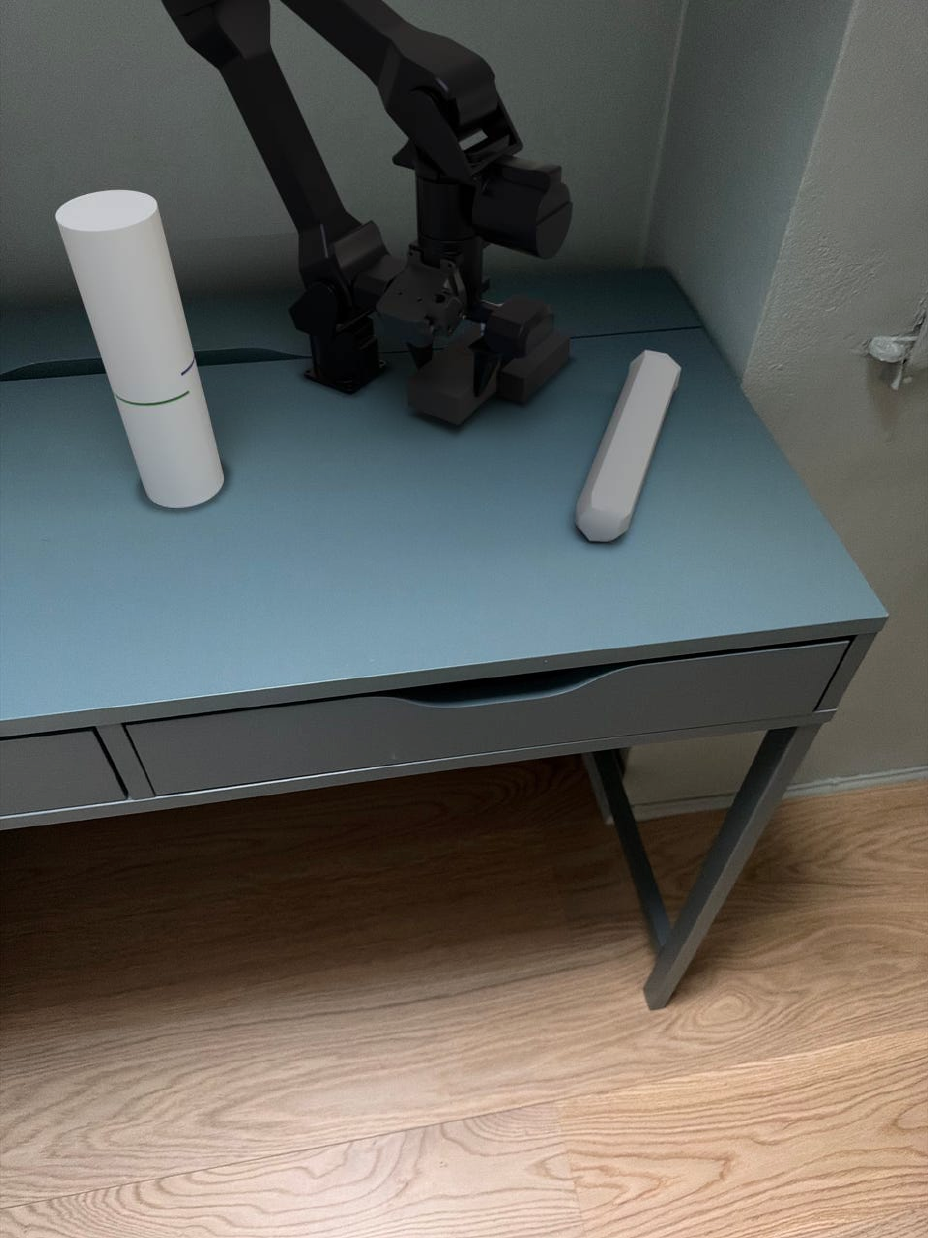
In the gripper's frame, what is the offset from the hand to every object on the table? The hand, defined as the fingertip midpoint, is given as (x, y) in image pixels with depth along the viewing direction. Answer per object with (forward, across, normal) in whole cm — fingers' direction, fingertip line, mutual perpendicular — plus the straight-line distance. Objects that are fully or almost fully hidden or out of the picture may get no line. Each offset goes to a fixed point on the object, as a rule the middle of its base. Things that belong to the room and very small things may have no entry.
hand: (451, 385), depth 88 cm
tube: (+1, +16, +1) cm, 16 cm away
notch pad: (+3, 0, +10) cm, 11 cm away
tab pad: (+2, 0, +1) cm, 2 cm away
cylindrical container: (+4, -15, -22) cm, 27 cm away
